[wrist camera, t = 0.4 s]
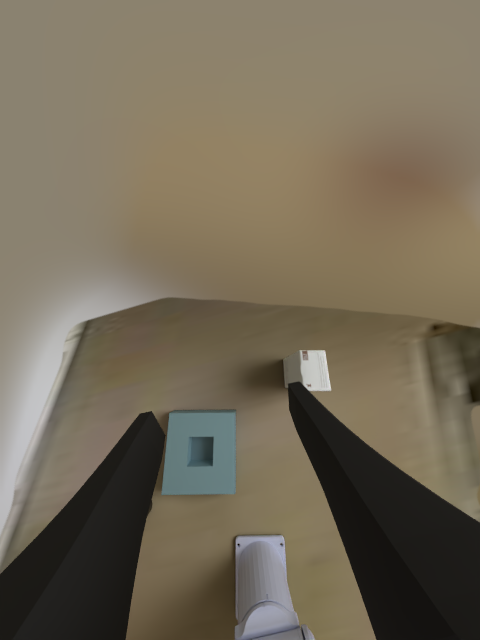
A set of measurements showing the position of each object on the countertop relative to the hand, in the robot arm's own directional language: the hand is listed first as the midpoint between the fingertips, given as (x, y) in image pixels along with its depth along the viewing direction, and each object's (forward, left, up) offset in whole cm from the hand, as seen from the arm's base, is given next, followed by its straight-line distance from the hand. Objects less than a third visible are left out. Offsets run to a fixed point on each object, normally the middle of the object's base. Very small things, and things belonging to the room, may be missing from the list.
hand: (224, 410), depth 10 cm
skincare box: (+2, -12, -29) cm, 32 cm away
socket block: (-11, +6, -29) cm, 31 cm away
